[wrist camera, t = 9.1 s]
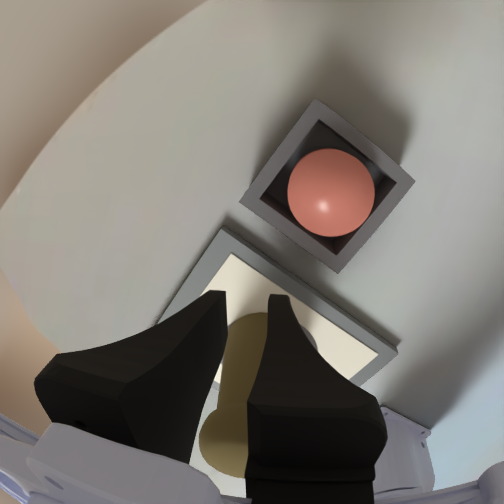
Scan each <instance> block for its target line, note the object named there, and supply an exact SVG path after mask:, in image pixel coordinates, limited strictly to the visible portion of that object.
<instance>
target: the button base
mask: <svg viewBox="0 0 504 504" xmlns="http://www.w3.org/2000/svg"><path fill="white" fill-rule="evenodd" d="M327 147H328V148H335V149H339V150H341V151H344V152H346V153H348V154H350V155H352V156H354V157H355V158H357V159H358V160H359V161H360V162H361V163H362V164H363V165H364V166H365V167H366V168H367V170H368V172H369V173H370V175H371V178H372V180H373V184H374V192H375V196H374V203H373V207H372V209H371V212H370V214H369V215H368V217H367V218H366V220H365V221H364V222H363V223H362V224H361V225H360V226H359V227H358V228H357V229H355V230H353V231H352V232H349V233H347V234H344V235H341V236H332V237H330V236H322V235H318V234H315V233H313V232H311V231H309V230H308V229H306V228H305V227H303V226H302V225H301V224H300V223H299V222H298V221H297V219H296V218H295V217H294V215H293V213H292V211H291V209H290V206H289V202H288V184H289V179H290V174H291V171H292V169H293V167H294V165H295V164H296V162H297V161H298V160H299V159H300V158H301V157H302V156H303V155H305V154H306V153H308V152H310V151H312V150H314V149H318V148H327ZM414 183H415V180H414V179H413V178H412V177H411V176H410V175H409V174H408V173H406V172H405V171H404V170H403V169H402V168H401V167H400V166H399V165H398V164H397V163H396V162H394V161H393V160H392V159H391V158H390V157H389V156H388V155H387V154H385V153H384V152H383V151H382V150H381V149H380V148H379V147H377V146H376V145H375V144H374V143H373V142H372V141H370V140H369V139H368V138H367V137H366V136H364V135H363V134H362V133H361V132H359V131H358V130H357V129H356V128H354V127H353V126H352V125H351V124H349V123H348V122H347V121H346V120H344V119H343V118H342V117H340V116H339V115H338V114H336V113H335V112H334V111H332V110H331V109H330V108H328V107H327V106H326V105H324V104H323V103H322V102H320V101H319V100H317V99H316V98H315V99H314V100H313V102H312V103H311V104H310V105H309V107H308V108H307V109H306V111H305V112H304V113H303V115H302V116H301V117H300V119H299V120H298V121H297V123H296V124H295V125H294V127H293V128H292V129H291V131H290V132H289V133H288V135H287V136H286V137H285V139H284V140H283V141H282V143H281V144H280V145H279V147H278V148H277V150H276V151H275V152H274V154H273V155H272V156H271V158H270V159H269V160H268V162H267V163H266V165H265V166H264V167H263V169H262V170H261V171H260V173H259V174H258V176H257V177H256V178H255V180H254V181H253V183H252V184H251V185H250V187H249V188H248V190H247V191H246V192H245V194H244V195H243V197H242V198H241V199H240V201H239V202H240V203H241V204H242V205H244V206H245V207H247V208H248V209H249V210H251V211H252V212H254V213H255V214H256V215H258V216H259V217H261V218H262V219H263V220H265V221H266V222H268V223H269V224H270V225H272V226H273V227H275V228H276V229H277V230H279V231H280V232H282V233H283V234H284V235H286V236H287V237H288V238H290V239H291V240H293V241H294V242H295V243H297V244H298V245H299V246H301V247H302V248H303V249H305V250H306V251H308V252H309V253H310V254H312V255H313V256H314V257H316V258H317V259H318V260H320V261H321V262H322V263H324V264H325V265H326V266H328V267H329V268H331V269H332V270H333V271H335V272H336V273H337V274H338V273H339V272H340V271H341V270H342V269H343V268H344V267H345V265H346V264H347V263H348V262H349V261H350V260H351V259H352V257H353V256H354V255H355V254H356V253H357V252H358V251H359V249H360V248H361V247H362V246H363V245H364V244H365V242H366V241H367V240H368V239H369V238H370V237H371V235H372V234H373V233H374V232H375V231H376V230H377V228H378V227H379V226H380V225H381V224H382V222H383V221H384V220H385V219H386V218H387V216H388V215H389V214H390V213H391V211H392V210H393V209H394V208H395V207H396V205H397V204H398V203H399V202H400V200H401V199H402V198H403V197H404V195H405V194H406V193H407V192H408V190H409V189H410V188H411V186H412V185H413V184H414Z"/></svg>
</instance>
